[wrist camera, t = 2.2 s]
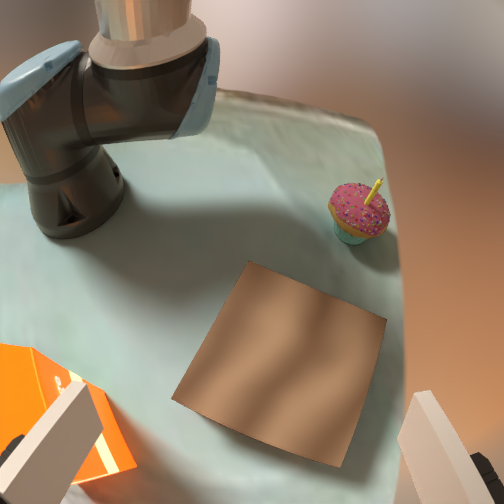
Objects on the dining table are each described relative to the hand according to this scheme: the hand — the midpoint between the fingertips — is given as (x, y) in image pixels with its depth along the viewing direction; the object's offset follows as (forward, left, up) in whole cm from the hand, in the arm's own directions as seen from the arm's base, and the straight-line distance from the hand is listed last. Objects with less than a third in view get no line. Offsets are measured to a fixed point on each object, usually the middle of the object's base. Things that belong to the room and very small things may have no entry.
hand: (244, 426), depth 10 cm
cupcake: (+4, +30, -19) cm, 36 cm away
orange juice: (-12, -8, -19) cm, 24 cm away
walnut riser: (+2, +8, -19) cm, 21 cm away
